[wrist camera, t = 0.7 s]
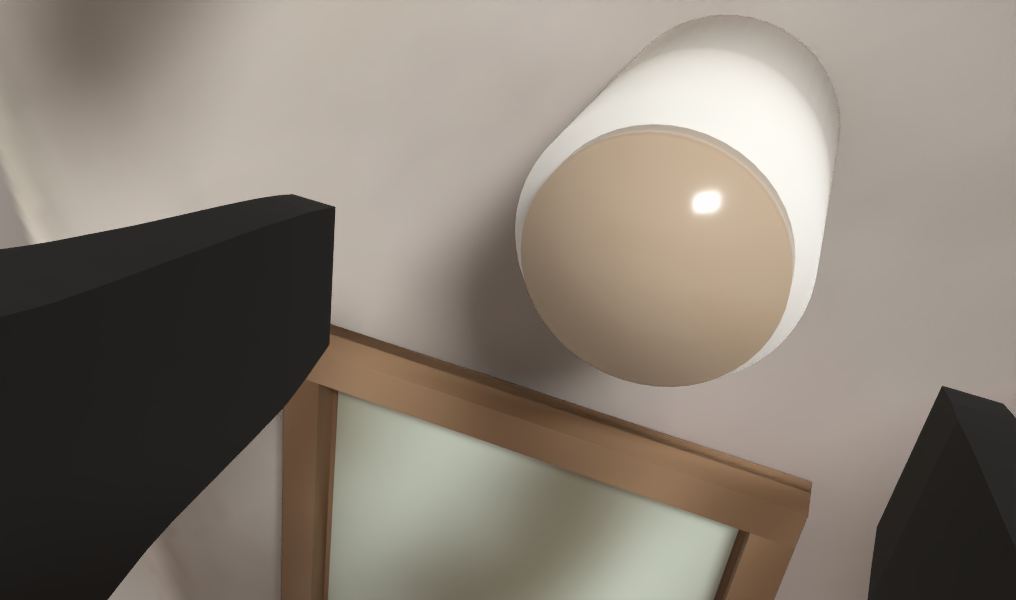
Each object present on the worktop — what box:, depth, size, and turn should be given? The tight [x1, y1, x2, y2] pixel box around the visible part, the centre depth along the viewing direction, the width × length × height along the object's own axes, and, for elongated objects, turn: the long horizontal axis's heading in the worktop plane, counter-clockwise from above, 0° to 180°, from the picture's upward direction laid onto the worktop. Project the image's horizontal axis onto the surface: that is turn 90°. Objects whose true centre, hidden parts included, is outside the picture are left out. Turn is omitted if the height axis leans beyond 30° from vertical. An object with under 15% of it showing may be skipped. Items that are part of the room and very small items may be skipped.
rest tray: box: [281, 324, 812, 600], centre depth 26 cm, size 13×13×1 cm
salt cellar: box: [515, 15, 840, 387], centre depth 16 cm, size 4×4×7 cm
